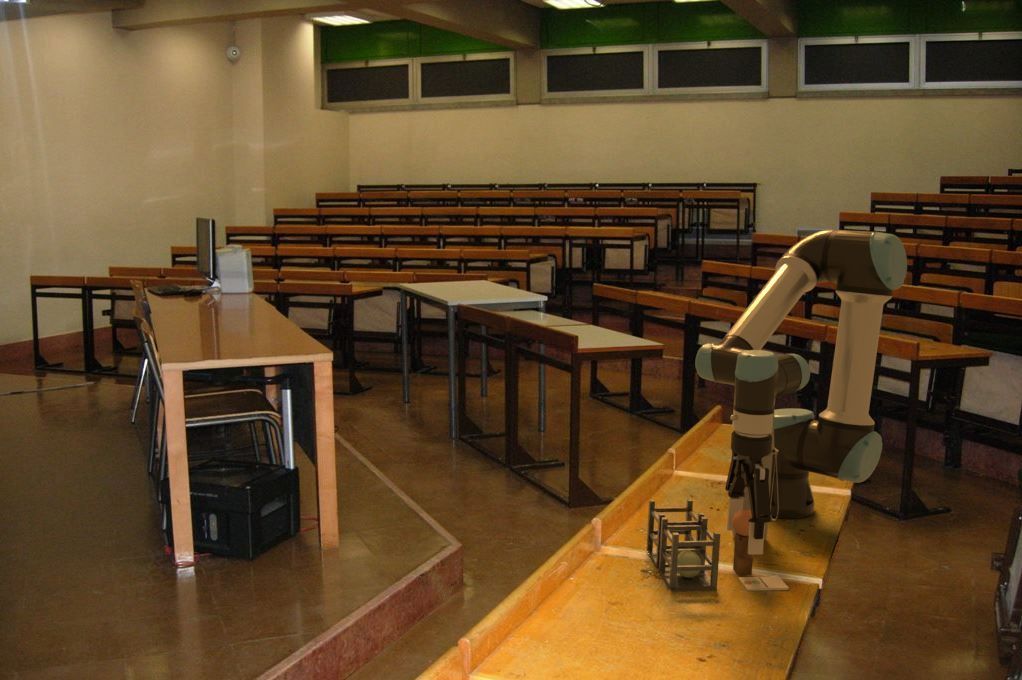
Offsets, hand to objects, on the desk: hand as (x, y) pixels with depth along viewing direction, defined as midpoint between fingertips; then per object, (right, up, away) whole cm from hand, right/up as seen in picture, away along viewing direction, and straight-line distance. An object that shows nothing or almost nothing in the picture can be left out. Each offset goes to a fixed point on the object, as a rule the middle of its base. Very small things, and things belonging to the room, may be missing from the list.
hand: (744, 541), depth 189 cm
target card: (+2, -7, -5) cm, 9 cm away
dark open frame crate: (-12, -7, -4) cm, 14 cm away
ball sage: (-12, -3, -4) cm, 13 cm away
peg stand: (0, -6, +1) cm, 6 cm away
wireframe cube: (-13, -5, +6) cm, 15 cm away
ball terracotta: (0, +4, -1) cm, 4 cm away
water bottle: (+6, -4, +18) cm, 19 cm away
